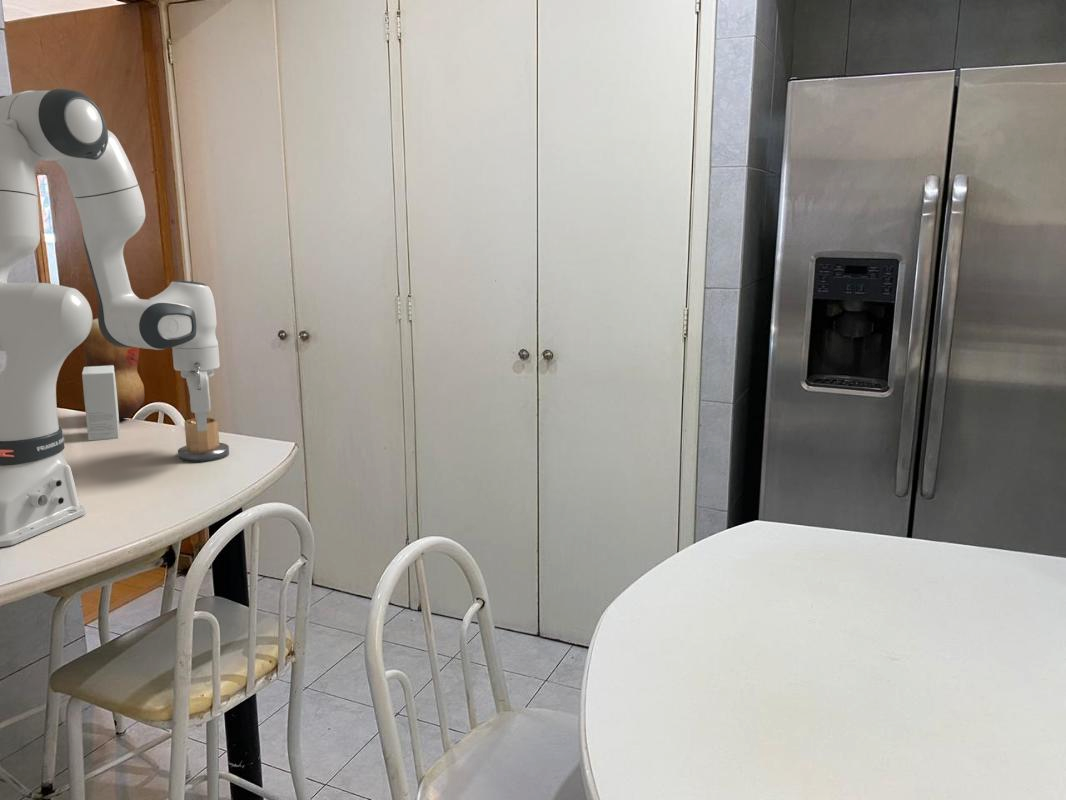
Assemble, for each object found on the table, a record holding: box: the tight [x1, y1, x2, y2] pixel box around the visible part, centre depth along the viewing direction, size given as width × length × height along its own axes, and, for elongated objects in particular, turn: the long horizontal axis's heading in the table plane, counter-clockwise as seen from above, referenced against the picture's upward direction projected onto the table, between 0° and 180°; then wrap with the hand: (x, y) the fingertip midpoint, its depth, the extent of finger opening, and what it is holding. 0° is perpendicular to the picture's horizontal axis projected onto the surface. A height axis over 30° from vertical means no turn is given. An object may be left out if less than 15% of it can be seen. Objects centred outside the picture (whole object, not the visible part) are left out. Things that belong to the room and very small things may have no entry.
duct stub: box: [177, 442, 230, 463], centre depth 172 cm, size 10×10×6 cm
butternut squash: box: [82, 318, 145, 421], centre depth 199 cm, size 14×13×25 cm
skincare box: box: [81, 365, 120, 442], centre depth 186 cm, size 8×7×16 cm
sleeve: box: [183, 417, 220, 453], centre depth 172 cm, size 6×6×6 cm
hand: (201, 425), depth 171 cm, fingers open, 8 cm apart
